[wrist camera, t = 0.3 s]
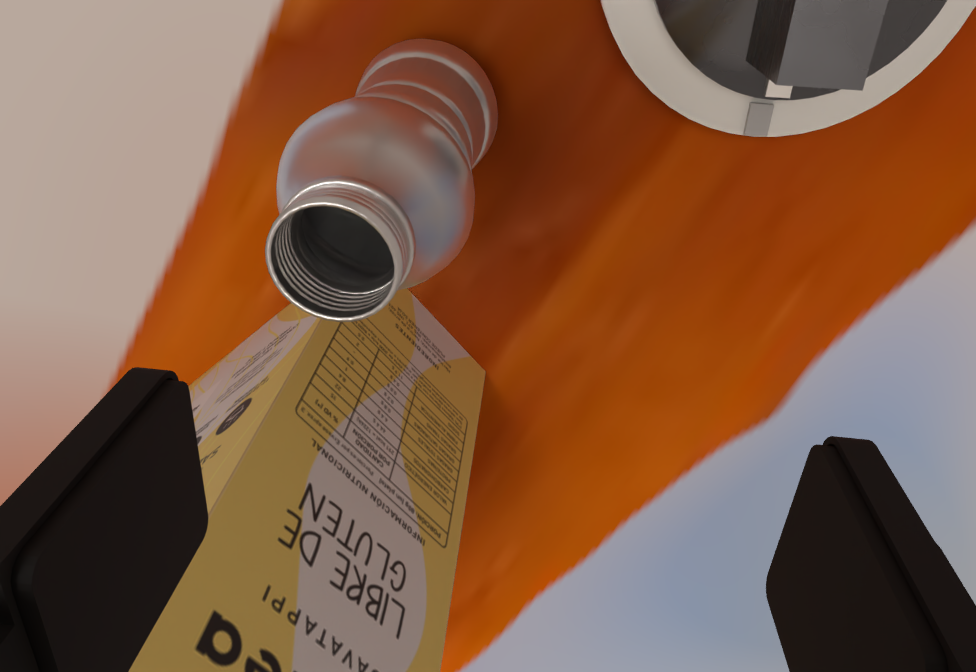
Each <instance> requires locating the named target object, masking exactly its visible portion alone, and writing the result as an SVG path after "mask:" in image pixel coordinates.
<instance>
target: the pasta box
mask: <svg viewBox="0 0 976 672" xmlns="http://www.w3.org/2000/svg"><path fill="white" fill-rule="evenodd" d="M485 374H486V371H485V370H484V369H483V368H482V367H481V366H480V365H479V364H478V363H477V362H476V361H475V360H474V359H473V358H472V357H471V356H470V355H469V353H468V352H467V351H466V350H465V349H464V348H463V347H462V346H461V345H460V344H459V343H458V342H457V341H456V340H455V339H454V338H453V336H452V335H451V334H450V333H449V332H448V331H447V330H446V329H445V328H444V327H443V326H442V325H441V324H440V323H439V322H438V321H437V320H436V318H435V317H434V316H433V315H432V314H431V313H430V312H429V311H428V310H427V309H426V308H425V307H424V306H423V305H422V304H421V303H420V302H419V300H418V299H417V298H416V297H415V296H414V295H413V294H412V293H411V292H410V291H409V290H408V289H407V288H406V289H402V290H397V291H396V293H395V295H394V297H393V298H392V299H391V300H390V302H389V303H388V304H387V305H386V306H385V307H384V308H383V309H381V310H380V311H378V312H377V313H376V314H374V315H372V316H370V317H367V318H365V319H362V320H358V321H353V322H335V321H327V320H324V319H320V318H317V317H314V316H312V315H310V314H308V313H306V312H304V311H302V310H301V309H299V308H298V307H296V306H295V305H293V304H292V303H290V304H289V305H288V306H286V307H285V308H284V309H283V310H282V311H280V312H279V313H278V314H277V315H275V316H274V317H273V318H272V319H270V320H269V321H268V322H267V323H266V324H264V325H263V326H262V327H261V328H259V329H258V330H257V331H256V332H254V333H253V334H252V335H251V336H250V337H248V338H247V339H246V340H245V341H243V342H242V343H241V344H240V345H239V346H237V347H236V348H235V349H234V350H232V351H231V352H230V353H229V354H227V355H226V356H225V357H224V358H223V359H221V360H220V361H219V362H218V363H216V364H215V365H214V366H213V367H211V368H210V369H209V370H208V371H207V372H205V373H204V374H203V375H202V376H200V377H199V378H198V379H197V380H195V381H194V382H193V383H192V384H191V385H189V386H188V387H189V391H190V398H191V404H192V411H193V418H194V424H195V431H196V437H197V444H198V450H199V457H200V464H201V470H202V477H203V483H204V490H205V496H206V503H207V510H208V527H207V531H206V534H205V537H204V539H203V541H202V543H201V545H200V547H199V548H198V550H197V552H196V554H195V555H194V557H193V559H192V561H191V562H190V564H189V566H188V568H187V570H186V571H185V573H184V575H183V577H182V578H181V580H180V582H179V584H178V585H177V587H176V589H175V591H174V592H173V594H172V596H171V598H170V599H169V601H168V603H167V605H166V606H165V608H164V610H163V612H162V613H161V615H160V617H159V619H158V621H157V622H156V624H155V626H154V628H153V629H152V631H151V633H150V635H149V636H148V638H147V640H146V642H145V643H144V645H143V647H142V649H141V650H140V652H139V654H138V656H137V657H136V659H135V661H134V663H133V664H132V666H131V668H130V670H129V672H440V668H441V662H442V655H443V649H444V642H445V636H446V629H447V622H448V616H449V609H450V603H451V596H452V590H453V583H454V577H455V570H456V564H457V557H458V551H459V544H460V538H461V531H462V525H463V518H464V511H465V505H466V498H467V492H468V485H469V479H470V472H471V466H472V459H473V453H474V446H475V440H476V433H477V427H478V420H479V414H480V407H481V400H482V394H483V387H484V381H485Z"/></svg>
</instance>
